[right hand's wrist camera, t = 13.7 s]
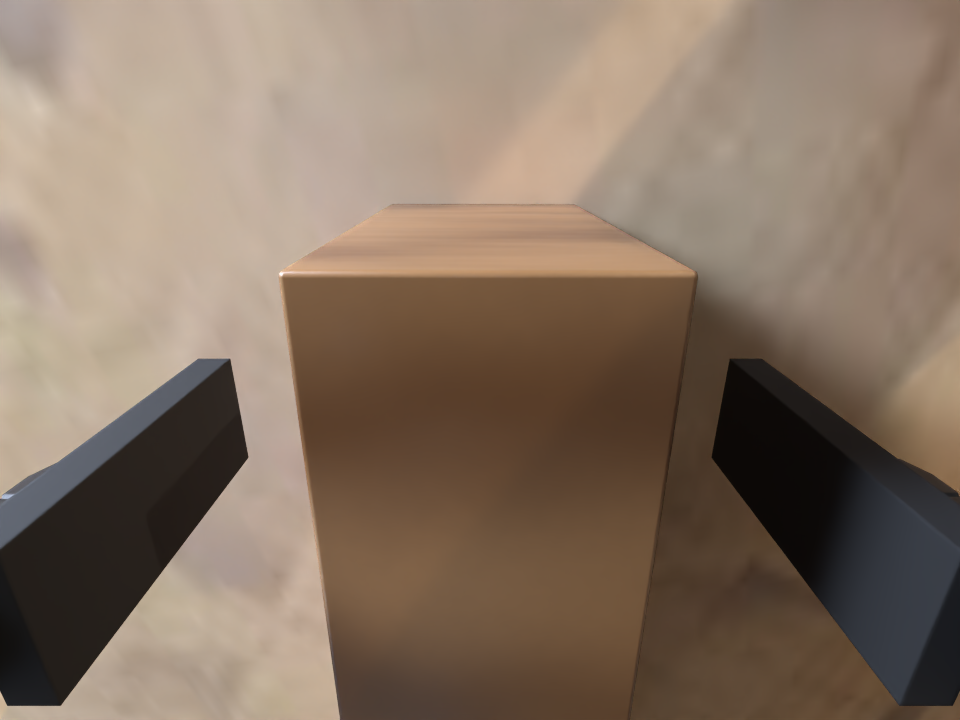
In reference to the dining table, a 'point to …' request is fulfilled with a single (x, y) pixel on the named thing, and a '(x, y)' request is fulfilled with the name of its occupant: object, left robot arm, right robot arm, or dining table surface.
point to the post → (486, 455)
